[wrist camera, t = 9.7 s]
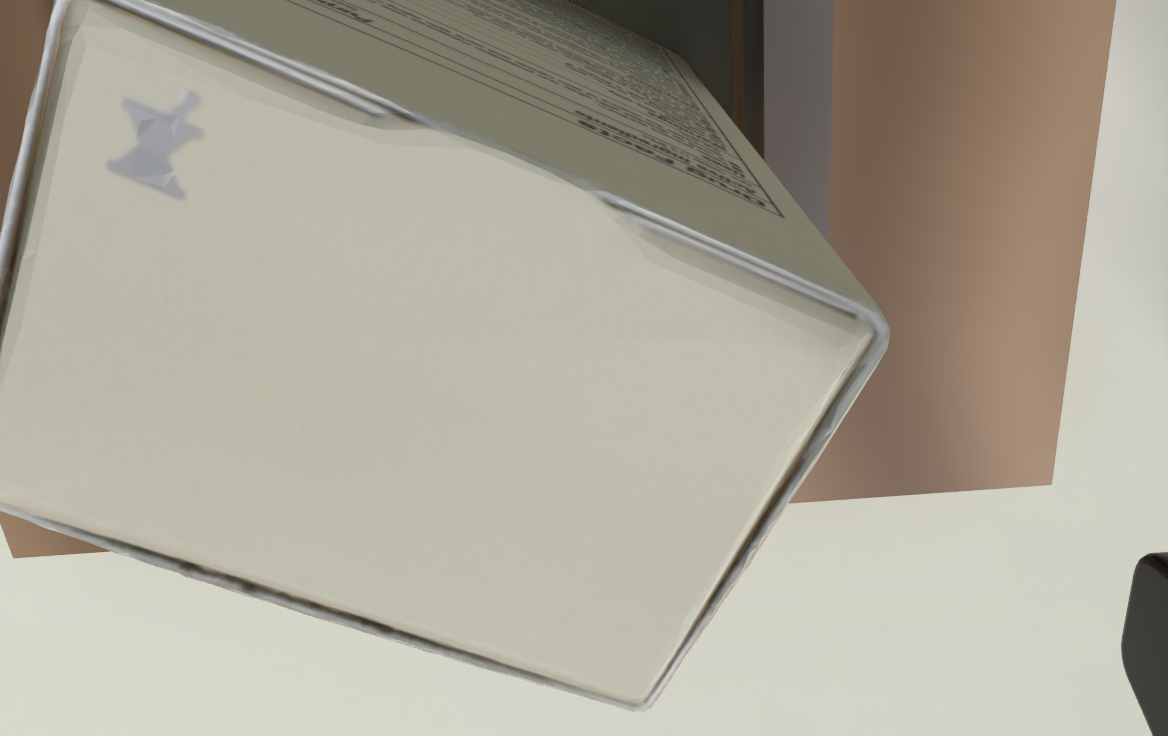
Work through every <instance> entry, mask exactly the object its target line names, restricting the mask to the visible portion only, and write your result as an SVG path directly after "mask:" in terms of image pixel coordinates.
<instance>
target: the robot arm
mask: <svg viewBox="0 0 1168 736" xmlns="http://www.w3.org/2000/svg"><path fill="white" fill-rule="evenodd" d="M1121 651H1122V660H1123V665H1124V668H1125V672H1126V675H1127V677H1128V680H1129V682H1130V684H1131V687H1132V689H1133V691H1134V694H1135V696H1136V698H1137V700H1138V703H1139V705H1140V707H1141V710H1142V712H1143V714H1144V716H1145V719H1146V721H1147V723H1148V726H1149V728H1150V730H1151V732H1152V735H1153V736H1168V552H1161V553H1150V554H1147V555H1146V556H1144V557H1142V558H1141V559H1140V560H1139V562H1138V563H1137V565H1136V568H1135V571H1134V574H1133V580H1132V586H1131V591H1130V597H1129V602H1128V608H1127V613H1126V619H1125V624H1124V630H1123V635H1122V643H1121Z"/></svg>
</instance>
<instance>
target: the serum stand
mask: <svg viewBox="0 0 1168 736" xmlns="http://www.w3.org/2000/svg"><path fill="white" fill-rule="evenodd" d="M53 4H54V0H0V232H1V227H2V222H3V217H4V212H5V207H6V202H7V198H8V193H9V188H10V184H11V180H12V176H13V173H14V169H15V165H16V161H17V158H18V154H19V150H20V147H21V143H22V139H23V133H24V128H25V122H26V116H27V112H28V107H29V103H30V99H31V95H32V91H33V88H34V84H35V81H36V77H37V74H38V70H39V67H40V63H41V60H42V56H43V52H44V46H45V40H46V33H47V29H48V26H49V22H50V18H51V14H52V9H53ZM1115 5H1116V0H730V12H731V70H732V121H733V123H734V124H735V125H736V126H737V128H738V129H739V130H740V131H741V133H742V134H743V135H744V136H745V138H746V139H747V140H748V141H749V143H750V144H751V145H752V146H753V148H754V149H755V150H756V151H757V153H758V154H759V155H760V157H761V158H762V159H763V160H764V162H765V163H766V164H767V165H768V167H769V168H770V169H771V171H772V172H773V173H774V174H775V176H776V177H777V178H778V179H779V181H780V182H781V183H782V185H783V186H784V187H785V189H786V190H787V191H788V193H789V194H790V195H791V196H792V198H793V199H794V200H795V202H796V203H797V204H798V205H799V207H800V208H801V209H802V211H803V212H804V213H805V214H806V216H807V217H808V218H809V219H810V221H811V222H812V223H813V224H814V226H815V227H816V228H817V229H818V231H819V232H820V233H821V234H822V236H823V237H824V238H825V239H826V241H827V242H828V243H829V244H830V246H831V247H832V248H833V249H834V251H835V252H836V253H837V254H838V256H839V257H840V258H841V260H842V261H843V262H844V263H845V265H846V266H847V267H848V268H849V270H850V271H851V272H852V273H853V275H854V276H855V277H856V278H857V280H858V281H859V282H860V283H861V285H862V286H863V287H864V288H865V290H866V291H867V292H868V294H869V295H870V296H871V297H872V299H873V300H874V301H875V302H876V304H877V305H878V306H879V308H880V310H881V312H882V314H883V315H884V317H885V319H886V321H887V323H888V324H889V326H890V339H889V344H888V348H887V350H886V352H885V354H884V355H883V357H882V359H881V360H880V362H879V364H878V365H877V367H876V369H875V370H874V372H873V373H872V375H871V377H870V378H869V380H868V381H867V383H866V384H865V386H864V387H863V389H862V391H861V392H860V394H859V395H858V397H857V398H856V400H855V401H854V403H853V405H852V406H851V408H850V409H849V411H848V412H847V414H846V415H845V417H844V419H843V420H842V422H841V423H840V425H839V427H838V428H837V430H836V431H835V433H834V435H833V436H832V438H831V439H830V441H829V443H828V444H827V446H826V447H825V449H824V451H823V452H822V454H821V455H820V457H819V459H818V460H817V462H816V463H815V465H814V466H813V468H812V469H811V471H810V472H809V474H808V475H807V477H806V478H805V480H804V481H803V483H802V484H801V486H800V487H799V488H798V490H797V491H796V493H795V494H794V496H793V497H792V499H791V500H790V502H789V503H801V502H815V501H829V500H844V499H858V498H872V497H886V496H900V495H914V494H928V493H942V492H957V491H971V490H985V489H999V488H1013V487H1027V486H1041V485H1052V477H1053V470H1054V462H1055V455H1056V447H1057V440H1058V432H1059V425H1060V417H1061V410H1062V402H1063V395H1064V387H1065V380H1066V372H1067V365H1068V357H1069V350H1070V342H1071V335H1072V327H1073V320H1074V312H1075V305H1076V297H1077V290H1078V282H1079V275H1080V267H1081V260H1082V252H1083V245H1084V237H1085V230H1086V222H1087V215H1088V207H1089V200H1090V192H1091V185H1092V177H1093V170H1094V162H1095V155H1096V147H1097V140H1098V132H1099V125H1100V117H1101V110H1102V102H1103V95H1104V87H1105V80H1106V72H1107V65H1108V57H1109V50H1110V42H1111V35H1112V27H1113V20H1114V12H1115ZM0 524H1V527H2V529H3V532H4V535H5V537H6V540H7V542H8V545H9V548H10V550H11V553H12V556H13V558H24V557H38V556H52V555H66V554H80V553H95V552H109V550H107V549H104V548H101V547H99V546H96V545H94V544H91V543H89V542H86V541H83V540H80V539H77V538H74V537H71V536H68V535H65V534H62V533H59V532H56V531H53V530H49V529H45V528H43V527H41V526H39V525H36V524H34V523H32V522H30V521H27V520H25V519H22V518H19V517H16V516H14V515H11V514H8V513H5V512H1V511H0Z"/></svg>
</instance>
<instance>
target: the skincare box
mask: <svg viewBox="0 0 1168 736" xmlns="http://www.w3.org/2000/svg"><path fill="white" fill-rule="evenodd" d="M889 339H890V326H889V324H888V323H887V321H886V319H885V317H884V315H883V314H882V312H881V310H880V308H879V306H878V305H877V304H876V302H875V301H874V300H873V299H872V297H871V296H870V295H869V294H868V292H867V291H866V290H865V288H864V287H863V286H862V285H861V283H860V282H859V281H858V280H857V278H856V277H855V276H854V275H853V273H852V272H851V271H850V270H849V268H848V267H847V266H846V265H845V263H844V262H843V261H842V260H841V258H840V257H839V256H838V254H837V253H836V252H835V251H834V249H833V248H832V247H831V246H830V244H829V243H828V242H827V241H826V239H825V238H824V237H823V236H822V234H821V233H820V232H819V231H818V229H817V228H816V227H815V226H814V224H813V223H812V222H811V221H810V219H809V218H808V217H807V216H806V214H805V213H804V212H803V211H802V209H801V208H800V207H799V205H798V204H797V203H796V202H795V200H794V199H793V198H792V196H791V195H790V194H789V193H788V191H787V190H786V189H785V187H784V186H783V185H782V183H781V182H780V181H779V179H778V178H777V177H776V176H775V174H774V173H773V172H772V171H771V169H770V168H769V167H768V165H767V164H766V163H765V162H764V160H763V159H762V158H761V157H760V155H759V154H758V153H757V151H756V150H755V149H754V148H753V146H752V145H751V144H750V143H749V141H748V140H747V139H746V138H745V136H744V135H743V134H742V133H741V131H740V130H739V129H738V128H737V126H736V125H735V124H734V123H733V121H732V120H731V119H730V117H729V116H728V115H727V113H726V112H725V111H724V110H723V108H722V107H721V106H720V104H719V103H718V102H717V101H716V100H715V98H714V97H713V96H712V95H711V93H710V92H709V91H708V89H707V88H706V87H705V85H704V84H703V83H702V81H701V80H700V79H699V78H698V76H697V75H696V74H695V72H694V71H693V70H692V69H691V67H690V66H689V65H688V63H687V62H686V61H685V60H684V59H683V58H682V57H681V56H679V55H677V54H675V53H673V52H671V51H669V50H667V49H665V48H663V47H662V46H660V45H658V44H656V43H654V42H652V41H650V40H648V39H646V38H644V37H642V36H640V35H638V34H636V33H634V32H632V31H630V30H628V29H626V28H624V27H622V26H620V25H618V24H616V23H614V22H612V21H610V20H608V19H605V18H603V17H601V16H599V15H597V14H595V13H593V12H591V11H589V10H587V9H585V8H583V7H580V6H578V5H576V4H574V3H572V2H570V1H568V0H54V4H53V9H52V14H51V18H50V22H49V26H48V29H47V33H46V40H45V46H44V52H43V56H42V60H41V63H40V67H39V70H38V74H37V77H36V81H35V84H34V88H33V91H32V95H31V99H30V103H29V107H28V112H27V116H26V122H25V128H24V133H23V139H22V143H21V147H20V150H19V154H18V158H17V161H16V165H15V169H14V173H13V176H12V180H11V184H10V188H9V193H8V198H7V202H6V207H5V212H4V217H3V222H2V227H1V232H0V511H1V512H5V513H8V514H11V515H14V516H16V517H19V518H22V519H25V520H27V521H30V522H32V523H34V524H36V525H39V526H41V527H43V528H45V529H49V530H53V531H56V532H59V533H62V534H65V535H68V536H71V537H74V538H77V539H80V540H83V541H86V542H89V543H91V544H94V545H96V546H99V547H101V548H104V549H107V550H109V551H112V552H114V553H117V554H121V555H125V556H129V557H132V558H134V559H137V560H140V561H142V562H145V563H148V564H151V565H154V566H157V567H160V568H163V569H167V570H170V571H174V572H177V573H180V574H181V575H183V576H185V577H188V578H191V579H195V580H199V581H202V582H206V583H209V584H213V585H216V586H219V587H222V588H225V589H228V590H230V591H233V592H236V593H239V594H242V595H245V596H249V597H252V598H257V599H260V600H264V601H267V602H271V603H274V604H276V605H279V606H282V607H285V608H288V609H291V610H294V611H297V612H300V613H303V614H306V615H309V616H313V617H316V618H319V619H322V620H326V621H329V622H333V623H336V624H340V625H343V626H346V627H349V628H353V629H356V630H359V631H362V632H366V633H369V634H372V635H375V636H379V637H382V638H385V639H388V640H392V641H395V642H398V643H402V644H404V645H407V646H411V647H415V648H418V649H421V650H423V651H426V652H431V653H435V654H439V655H442V656H445V657H448V658H451V659H454V660H457V661H460V662H463V663H467V664H470V665H473V666H477V667H480V668H483V669H487V670H491V671H495V672H498V673H502V674H506V675H510V676H513V677H517V678H521V679H524V680H527V681H530V682H533V683H536V684H539V685H543V686H547V687H551V688H555V689H559V690H562V691H566V692H570V693H573V694H577V695H580V696H583V697H587V698H590V699H593V700H597V701H600V702H603V703H607V704H610V705H613V706H617V707H620V708H623V709H626V710H629V711H634V712H644V711H646V710H648V709H649V708H651V707H652V706H653V704H654V703H655V702H656V701H657V700H658V698H659V697H660V695H661V693H662V692H663V690H664V689H665V687H666V686H667V684H668V682H669V681H670V679H671V678H672V676H673V675H674V673H675V671H676V670H677V668H678V667H679V665H680V663H681V662H682V660H683V659H684V657H685V656H686V654H687V653H688V652H689V650H690V649H691V648H692V647H693V645H694V644H695V643H696V641H697V640H698V638H699V637H700V635H701V634H702V633H703V631H704V630H705V628H706V627H707V625H708V624H709V623H710V621H711V620H712V618H713V616H714V615H715V613H716V612H717V610H718V608H719V607H720V605H721V604H722V602H723V601H724V599H725V598H726V597H727V595H728V594H729V592H730V591H731V590H732V588H733V587H734V585H735V584H736V583H737V581H738V580H739V578H740V577H741V575H742V574H743V572H744V571H745V570H746V568H747V567H748V566H749V565H750V563H751V561H752V560H753V558H754V556H755V554H756V553H757V551H758V550H759V548H760V547H761V545H762V544H763V543H764V541H765V539H766V538H767V536H768V534H769V533H770V531H771V529H772V527H773V526H774V524H775V523H776V521H777V520H778V518H779V517H780V515H781V514H782V512H783V511H784V509H785V508H786V506H787V505H788V503H789V502H790V500H791V499H792V497H793V496H794V494H795V493H796V491H797V490H798V488H799V487H800V486H801V484H802V483H803V481H804V480H805V478H806V477H807V475H808V474H809V472H810V471H811V469H812V468H813V466H814V465H815V463H816V462H817V460H818V459H819V457H820V455H821V454H822V452H823V451H824V449H825V447H826V446H827V444H828V443H829V441H830V439H831V438H832V436H833V435H834V433H835V431H836V430H837V428H838V427H839V425H840V423H841V422H842V420H843V419H844V417H845V415H846V414H847V412H848V411H849V409H850V408H851V406H852V405H853V403H854V401H855V400H856V398H857V397H858V395H859V394H860V392H861V391H862V389H863V387H864V386H865V384H866V383H867V381H868V380H869V378H870V377H871V375H872V373H873V372H874V370H875V369H876V367H877V365H878V364H879V362H880V360H881V359H882V357H883V355H884V354H885V352H886V350H887V348H888V344H889Z"/></svg>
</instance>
